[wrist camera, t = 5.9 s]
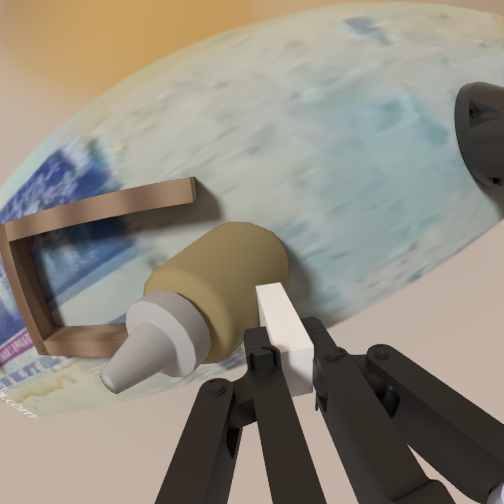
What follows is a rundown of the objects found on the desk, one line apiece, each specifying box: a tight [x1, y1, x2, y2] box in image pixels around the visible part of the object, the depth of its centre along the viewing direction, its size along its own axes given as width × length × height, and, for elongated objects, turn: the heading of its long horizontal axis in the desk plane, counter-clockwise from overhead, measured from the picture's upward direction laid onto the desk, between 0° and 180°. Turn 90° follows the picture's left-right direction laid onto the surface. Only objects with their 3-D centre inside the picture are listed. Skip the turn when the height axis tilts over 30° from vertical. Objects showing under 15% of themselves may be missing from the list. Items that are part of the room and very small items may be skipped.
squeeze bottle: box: [100, 222, 290, 394], centre depth 18 cm, size 8×8×18 cm
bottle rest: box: [0, 177, 197, 357], centre depth 24 cm, size 23×16×4 cm
